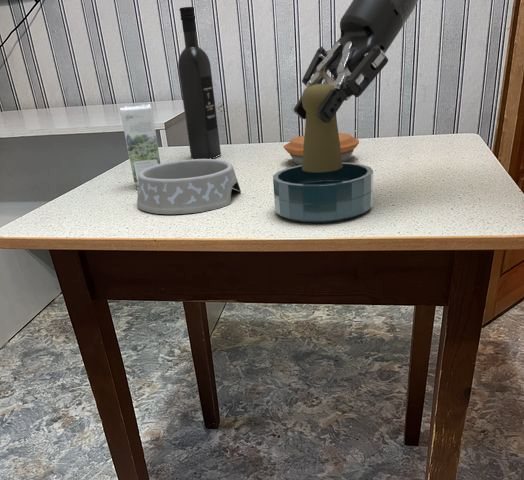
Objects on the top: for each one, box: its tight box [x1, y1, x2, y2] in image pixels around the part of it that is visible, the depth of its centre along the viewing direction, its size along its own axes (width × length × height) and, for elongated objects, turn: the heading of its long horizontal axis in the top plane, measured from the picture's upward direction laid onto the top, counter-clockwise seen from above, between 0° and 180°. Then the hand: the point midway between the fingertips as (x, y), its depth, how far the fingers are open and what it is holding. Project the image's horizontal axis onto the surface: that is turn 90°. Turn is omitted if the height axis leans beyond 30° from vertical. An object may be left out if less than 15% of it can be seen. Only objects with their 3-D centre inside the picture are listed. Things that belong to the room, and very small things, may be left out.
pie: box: [283, 132, 360, 166], centre depth 111 cm, size 15×16×5 cm
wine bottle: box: [177, 6, 222, 159], centre depth 119 cm, size 6×6×30 cm
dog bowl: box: [136, 158, 242, 215], centre depth 92 cm, size 17×18×5 cm
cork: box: [301, 83, 343, 172], centre depth 76 cm, size 6×6×11 cm
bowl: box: [272, 162, 374, 224], centre depth 80 cm, size 15×15×6 cm
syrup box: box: [119, 103, 162, 190], centre depth 102 cm, size 6×6×14 cm
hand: (310, 116), depth 74 cm, fingers closed on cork, 5 cm apart
